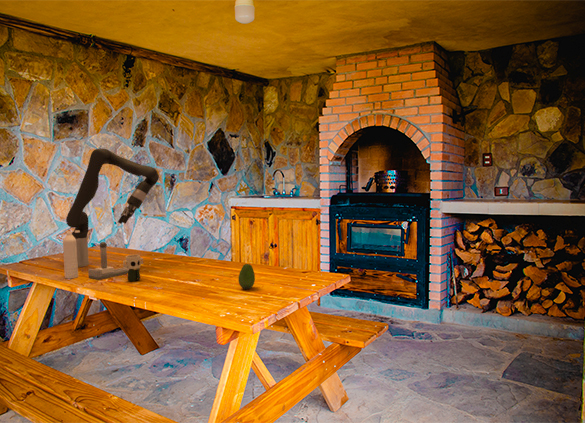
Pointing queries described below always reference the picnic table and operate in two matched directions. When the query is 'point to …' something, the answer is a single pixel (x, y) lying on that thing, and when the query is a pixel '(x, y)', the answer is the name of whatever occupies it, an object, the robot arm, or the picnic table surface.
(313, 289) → the picnic table surface
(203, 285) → the picnic table surface
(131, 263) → the toy figurine
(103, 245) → the carriage
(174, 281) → the picnic table surface
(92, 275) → the rail board
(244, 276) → the fruit
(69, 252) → the water bottle
